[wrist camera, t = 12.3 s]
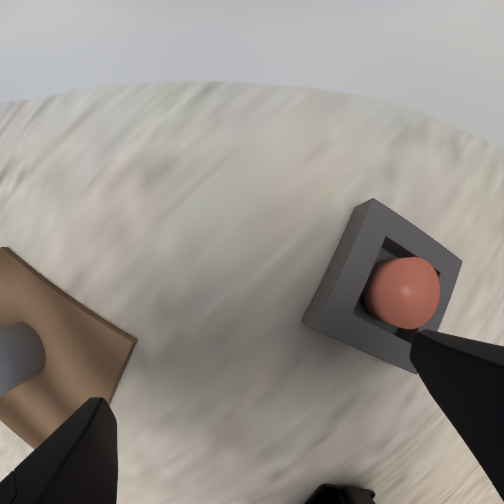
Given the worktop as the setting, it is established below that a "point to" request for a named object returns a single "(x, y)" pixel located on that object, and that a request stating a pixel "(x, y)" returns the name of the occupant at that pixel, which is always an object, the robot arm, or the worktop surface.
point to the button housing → (357, 272)
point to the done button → (402, 292)
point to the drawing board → (56, 352)
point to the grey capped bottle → (19, 355)
